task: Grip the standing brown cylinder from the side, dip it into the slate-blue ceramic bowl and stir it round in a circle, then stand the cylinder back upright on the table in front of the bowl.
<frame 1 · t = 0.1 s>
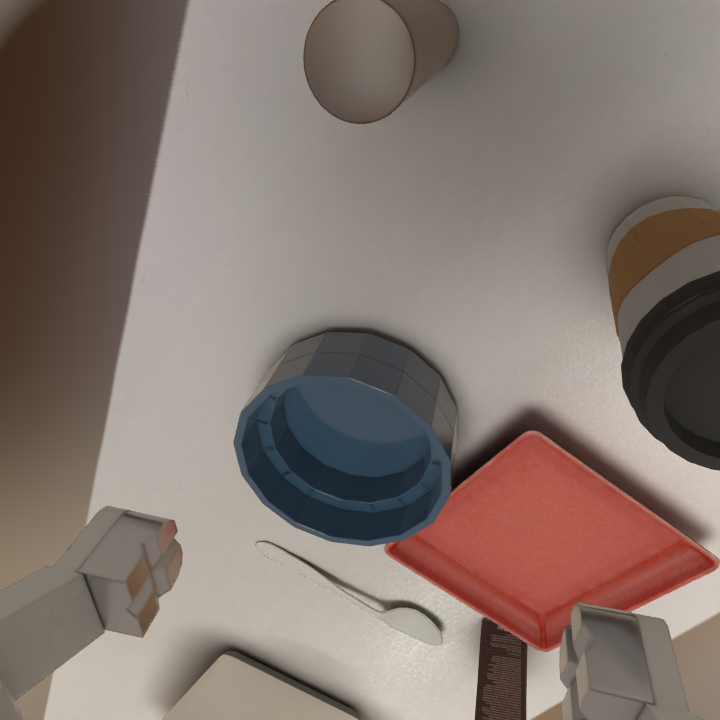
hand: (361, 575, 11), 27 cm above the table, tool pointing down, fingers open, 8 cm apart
brown cylinder: (426, 36, 30), on the table
plant saucer: (537, 524, 46), on the table
tub: (272, 701, 73), on the table
bowl: (359, 412, 44), on the table
box: (502, 636, 55), on the table
spoon: (350, 584, 56), on the table
coffee cup: (663, 246, 33), on the table
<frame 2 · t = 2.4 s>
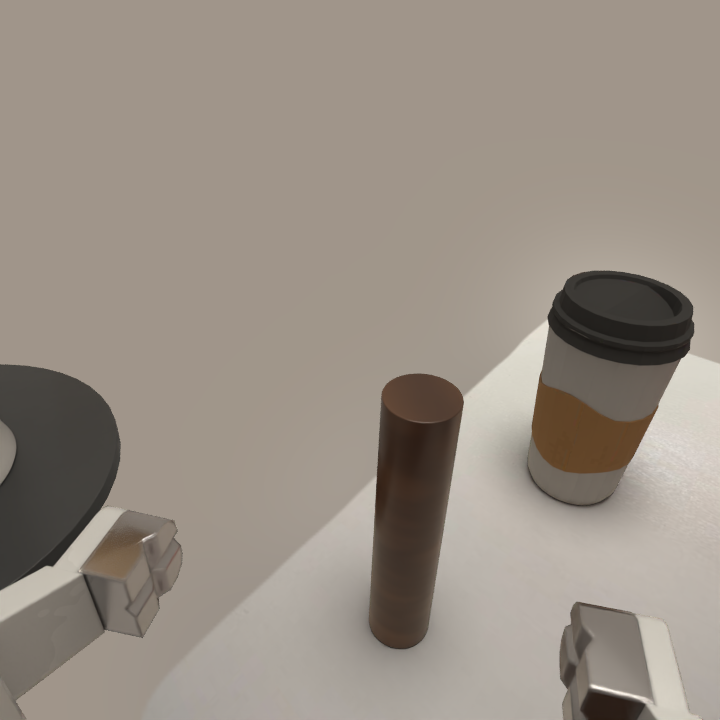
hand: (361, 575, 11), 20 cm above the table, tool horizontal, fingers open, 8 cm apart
brown cylinder: (398, 619, 32), on the table
coffee cup: (569, 477, 42), on the table
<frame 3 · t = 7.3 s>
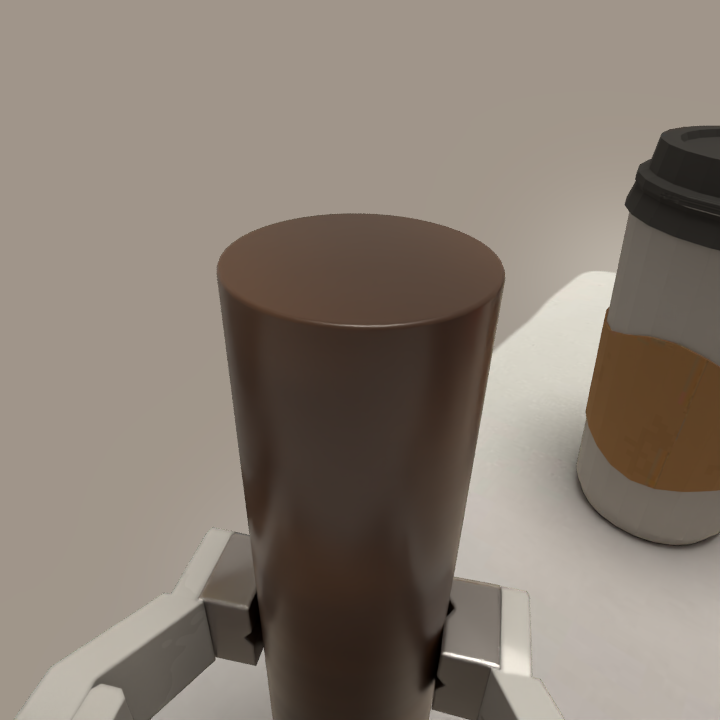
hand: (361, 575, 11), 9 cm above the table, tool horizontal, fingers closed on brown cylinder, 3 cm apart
coffee cup: (645, 496, 26), on the table
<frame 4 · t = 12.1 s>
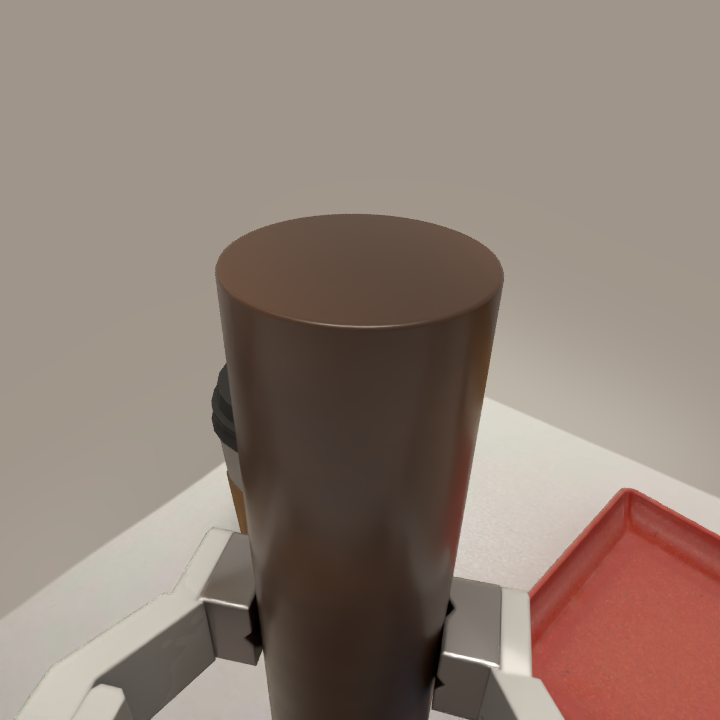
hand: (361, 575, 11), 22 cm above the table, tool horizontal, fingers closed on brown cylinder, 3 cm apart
plant saucer: (694, 690, 32), on the table
coffee cup: (297, 560, 38), on the table
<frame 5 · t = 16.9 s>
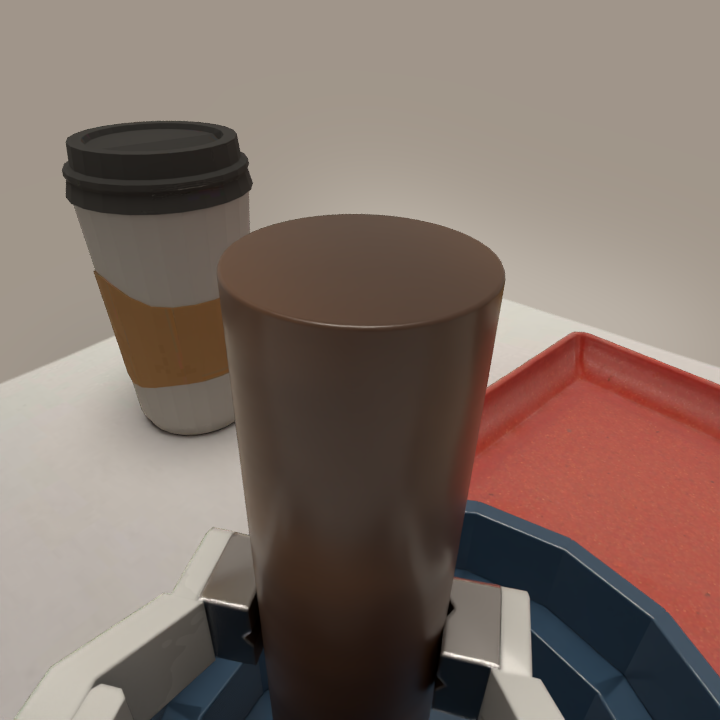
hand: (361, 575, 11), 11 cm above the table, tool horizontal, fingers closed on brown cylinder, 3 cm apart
plant saucer: (643, 519, 27), on the table
coffee cup: (200, 405, 33), on the table
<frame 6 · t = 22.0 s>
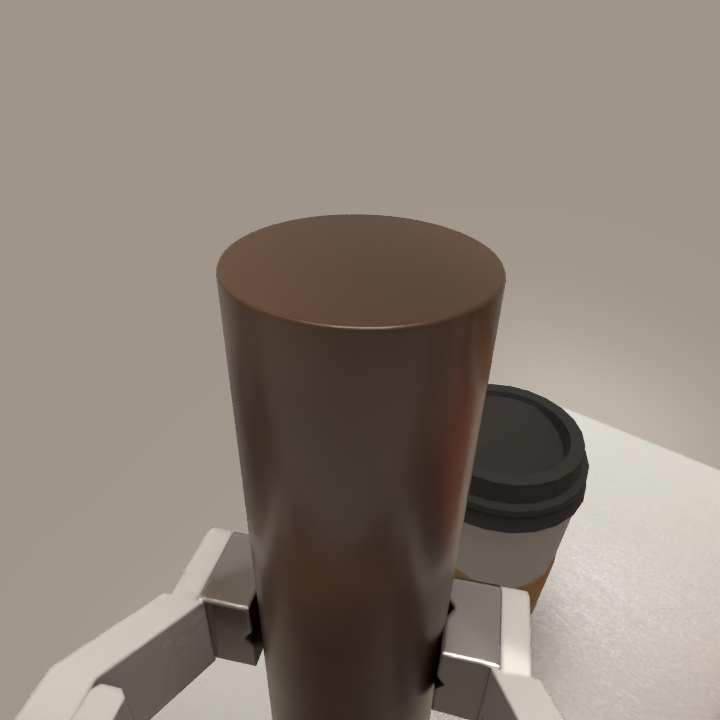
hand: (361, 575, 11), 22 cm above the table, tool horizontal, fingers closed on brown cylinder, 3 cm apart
coffee cup: (464, 623, 34), on the table
when the fingers open (9 cm above the table, at t = 26.4 s): brown cylinder stays where it is, on the table.
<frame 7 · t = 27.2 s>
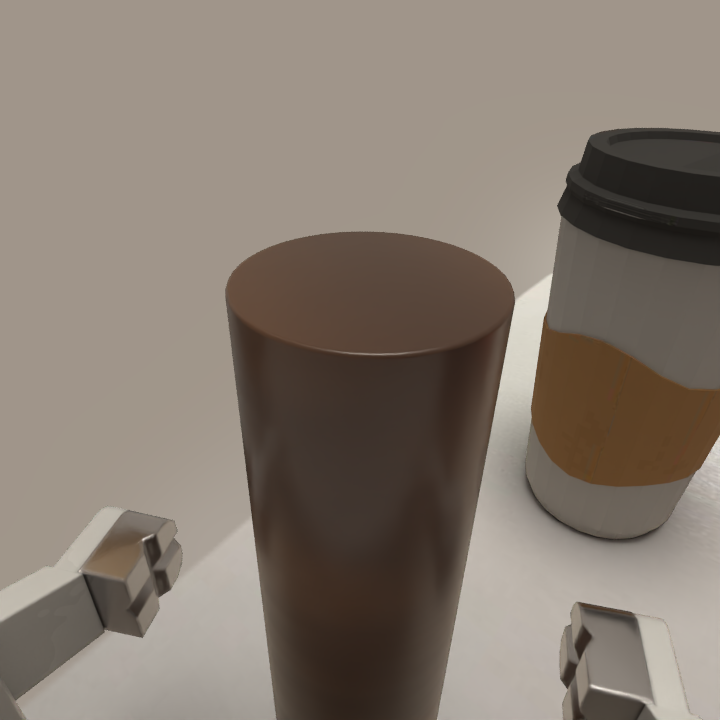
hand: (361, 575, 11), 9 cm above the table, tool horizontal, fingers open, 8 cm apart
coffee cup: (592, 491, 26), on the table
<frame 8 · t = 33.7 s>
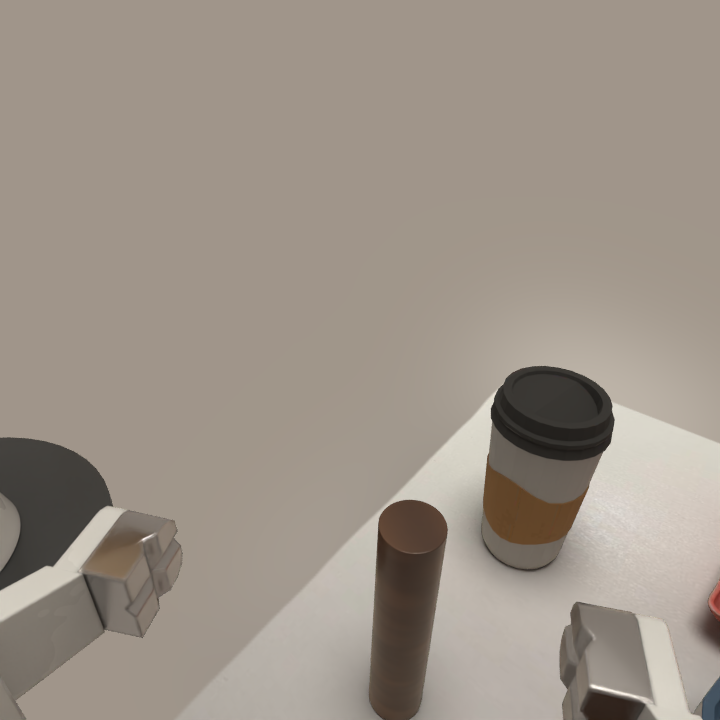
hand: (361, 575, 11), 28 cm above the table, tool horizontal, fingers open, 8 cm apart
brown cylinder: (395, 694, 36), on the table
coffee cup: (518, 541, 47), on the table
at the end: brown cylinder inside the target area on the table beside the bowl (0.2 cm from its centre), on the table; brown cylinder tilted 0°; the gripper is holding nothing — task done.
